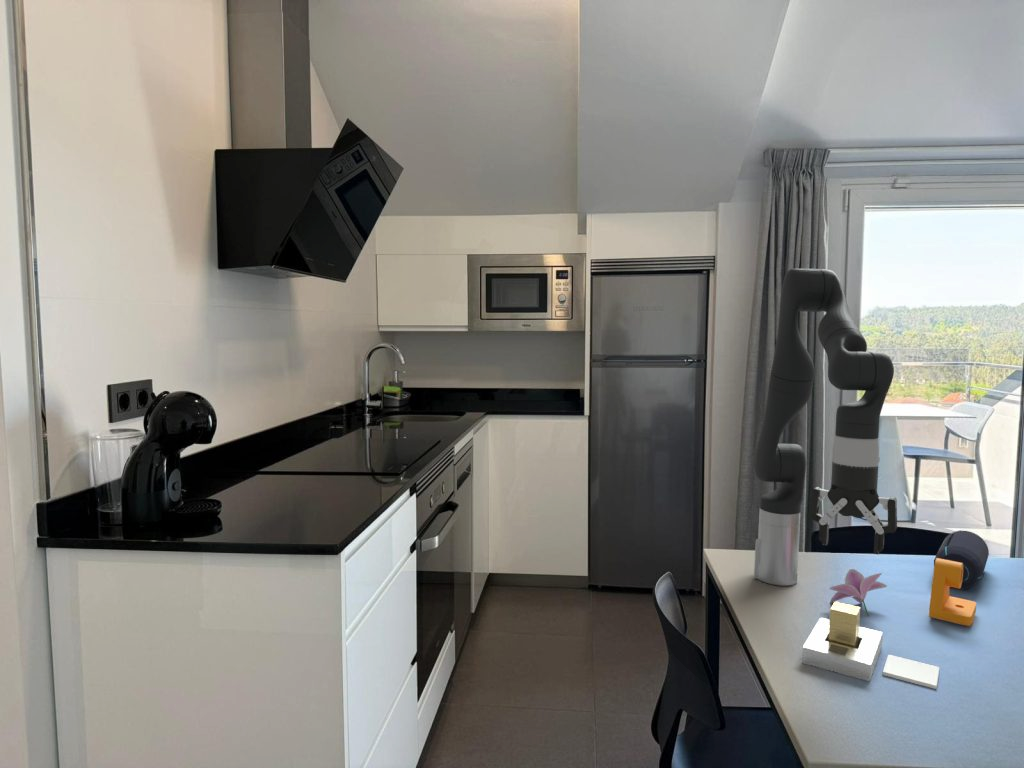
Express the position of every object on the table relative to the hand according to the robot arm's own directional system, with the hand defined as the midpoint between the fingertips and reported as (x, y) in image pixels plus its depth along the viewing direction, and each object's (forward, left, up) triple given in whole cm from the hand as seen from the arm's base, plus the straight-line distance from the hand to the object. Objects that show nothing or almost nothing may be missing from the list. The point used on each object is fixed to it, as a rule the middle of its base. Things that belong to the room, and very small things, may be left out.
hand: (850, 548), depth 125 cm
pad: (+11, 0, -20) cm, 23 cm away
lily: (-2, +25, -21) cm, 33 cm away
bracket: (+16, +33, -21) cm, 42 cm away
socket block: (0, 0, -20) cm, 20 cm away
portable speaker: (+16, +64, -21) cm, 69 cm away
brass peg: (0, 0, -20) cm, 20 cm away
